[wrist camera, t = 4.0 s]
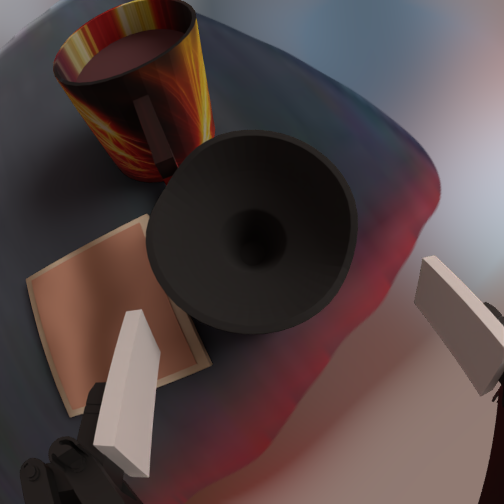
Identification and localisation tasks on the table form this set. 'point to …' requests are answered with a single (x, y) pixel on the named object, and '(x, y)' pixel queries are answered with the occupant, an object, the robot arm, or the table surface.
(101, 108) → the mug
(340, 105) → the table surface
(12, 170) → the table surface
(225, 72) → the table surface
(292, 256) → the pen holder
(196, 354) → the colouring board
